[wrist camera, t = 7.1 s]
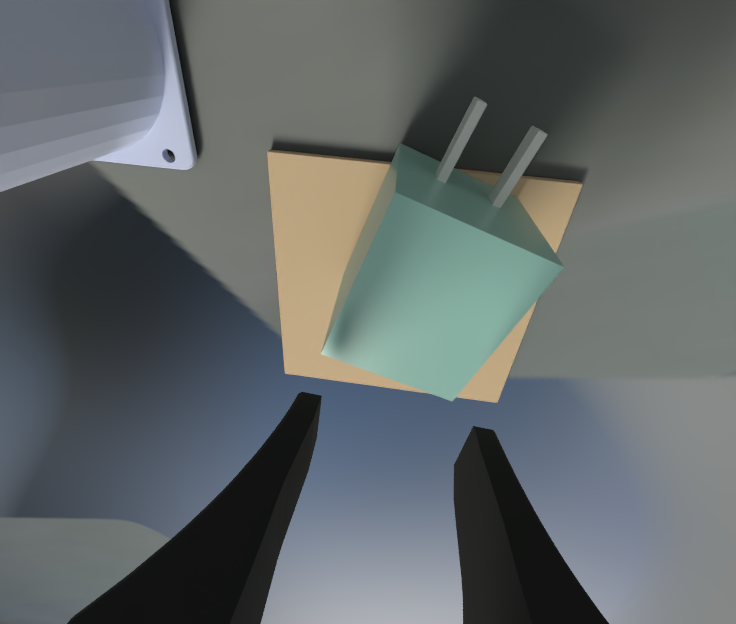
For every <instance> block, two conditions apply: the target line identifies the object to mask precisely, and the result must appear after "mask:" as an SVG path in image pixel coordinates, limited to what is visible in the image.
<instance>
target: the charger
mask: <svg viewBox="0 0 736 624" xmlns="http://www.w3.org/2000/svg"><path fill="white" fill-rule="evenodd" d="M486 106H487V104H486V103H485V102H484V101H483V100H481V99H479V98H477V97H475V96H474V98H473V100H472V101H471V103H470V105H469V107H468V109H467V111H466V113H465V115H464V117H463V119H462V121H461V123H460V125H459V127H458V129H457V131H456V133H455V135H454V137H453V139H452V141H451V143H450V145H449V147H448V149H447V151H446V153H445V155H444V157H443V159H442V161H441V162H440V161H437V160H435V159H433V158H431V157H429V156H427V155H425V154H422V153H420V152H418V151H416V150H414V149H412V148H410V147H407V146H405V145H403V144H401V143H400V144H399V146H398V148H397V151H396V153H395V155H394V158H393V160H392V162H391V165H390V167H389V169H388V172H387V174H386V176H385V179H384V181H383V183H382V185H381V188H380V190H379V192H378V195H377V197H376V199H375V202H374V204H373V206H372V209H371V211H370V213H369V216H368V218H367V220H366V223H365V225H364V227H363V229H362V232H361V234H360V236H359V239H358V241H357V243H356V246H355V248H354V250H353V253H352V255H351V257H350V260H349V262H348V264H347V267H346V269H345V271H344V274H343V277H342V281H341V284H340V288H339V291H338V295H337V299H336V302H335V306H334V309H333V313H332V316H331V320H330V323H329V327H328V330H327V334H326V337H325V341H324V344H323V348H322V351H321V354H322V355H325V356H328V357H331V358H333V359H336V360H339V361H342V362H344V363H347V364H350V365H353V366H356V367H358V368H361V369H364V370H367V371H369V372H372V373H375V374H378V375H381V376H383V377H386V378H389V379H392V380H394V381H397V382H400V383H403V384H406V385H408V386H411V387H414V388H417V389H419V390H422V391H425V392H428V393H430V394H433V395H436V396H439V397H442V398H444V399H447V400H450V401H453V400H454V399H455V398H456V396H457V395H458V394H459V393H460V392H461V390H462V389H463V388H464V387H465V386H466V385H467V383H468V382H469V381H470V380H471V379H472V377H473V376H474V375H475V374H476V373H477V371H478V370H479V369H480V368H481V367H482V365H483V364H484V363H485V362H486V361H487V359H488V358H489V357H490V356H491V355H492V353H493V352H494V351H495V350H496V349H497V348H498V346H499V345H500V344H501V343H502V342H503V340H504V339H505V338H506V337H507V336H508V334H509V333H510V332H511V331H512V330H513V328H514V327H515V326H516V325H517V324H518V322H519V321H520V320H521V319H522V318H523V316H524V315H525V314H526V313H527V312H528V310H529V309H530V308H531V307H532V306H533V305H534V303H535V302H536V301H537V300H538V299H539V297H540V296H541V295H542V294H543V293H544V291H545V290H546V289H547V288H548V287H549V285H550V284H551V283H552V282H553V281H554V279H555V278H556V277H557V276H558V275H559V273H560V272H561V271H562V270H563V269H564V268H565V267H564V266H563V264H562V263H561V261H560V260H559V258H558V257H557V255H556V254H555V252H554V251H553V249H552V248H551V246H550V245H549V243H548V242H547V240H546V239H545V237H544V236H543V235H542V233H541V232H540V230H539V229H538V227H537V226H536V224H535V223H534V221H533V220H532V218H531V217H530V215H529V214H528V212H527V211H526V209H525V208H524V206H523V205H522V203H521V202H520V201H519V199H518V198H517V197H515V196H512V195H510V193H511V191H512V190H513V188H514V186H515V185H516V183H517V182H518V180H519V179H520V177H521V176H522V174H523V173H524V171H525V169H526V168H527V166H528V165H529V163H530V162H531V160H532V159H533V157H534V156H535V154H536V152H537V151H538V149H539V148H540V146H541V145H542V143H543V142H544V140H545V139H546V137H547V135H548V134H546V133H545V132H543V131H542V130H540V129H538V128H536V127H534V126H531V128H530V129H529V131H528V132H527V134H526V136H525V137H524V139H523V141H522V142H521V144H520V145H519V147H518V149H517V150H516V152H515V154H514V155H513V157H512V158H511V160H510V162H509V163H508V165H507V167H506V168H505V170H504V171H503V173H502V175H501V176H500V178H499V180H498V181H497V183H496V184H495V186H494V187H493V186H491V185H489V184H487V183H485V182H482V181H480V180H478V179H476V178H474V177H472V176H470V175H467V174H465V173H463V172H461V171H459V170H457V169H455V168H454V166H455V164H456V162H457V161H458V159H459V157H460V155H461V153H462V151H463V149H464V147H465V146H466V144H467V142H468V140H469V138H470V136H471V134H472V132H473V131H474V129H475V127H476V125H477V123H478V121H479V119H480V117H481V116H482V114H483V112H484V110H485V108H486Z"/></svg>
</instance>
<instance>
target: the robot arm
mask: <svg viewBox="0 0 736 624" xmlns="http://www.w3.org/2000/svg"><path fill="white" fill-rule="evenodd" d="M168 149H169V150H171V151H172V152H173V153H174V155H175V160H173V159H171V158H170V157H169V155H168ZM90 160H97V161H106V162H116V163H125V164H134V165H143V166H153V167H162V168H171V169H181V170H188V169H190V168H192V167H193V166H195V165H196V163H197V153H196V147H195V142H194V136H193V131H192V125H191V120H190V114H189V109H188V103H187V98H186V92H185V87H184V82H183V76H182V71H181V65H180V60H179V54H178V49H177V43H176V38H175V32H174V27H173V21H172V16H171V10H170V5H169V0H0V192H1V191H4V190H7V189H10V188H13V187H15V186H18V185H21V184H24V183H27V182H30V181H33V180H36V179H39V178H41V177H44V176H47V175H50V174H52V173H56V172H59V171H61V170H64V169H67V168H70V167H73V166H76V165H79V164H82V163H85V162H87V161H90ZM321 397H322V396H320V395H315V394H310V393H305V392H301V393H299V394H298V395H297V397H296V399H295V401H294V402H293V404H292V406H291V407H290V409H289V410H288V412H287V413H286V415H285V416H284V418H283V419H282V421H281V422H280V423H279V425H278V426H277V427H276V429H275V430H274V431H273V433H272V434H271V435H270V437H269V438H268V439H267V440H266V442H265V443H264V444H263V445H262V447H261V448H260V449H259V450H258V452H257V453H256V454H255V455H254V456H253V458H252V459H251V460H250V461H249V462H248V463H247V464H246V465H245V467H244V468H243V469H242V470H241V471H240V472H239V474H238V475H237V476H236V477H235V478H234V479H233V480H232V481H231V482H230V483H229V485H228V486H226V488H225V489H224V490H223V491H222V492H221V493H220V494H219V495H218V496H217V497H216V498H215V499H214V500H213V501H212V502H211V503H210V504H209V505H208V506H207V507H206V508H205V509H204V510H203V511H201V512H200V513H199V515H197V516H196V517H195V518H194V519H193V520H192V521H191V522H190V523H189V524H188V525H186V526H185V527H184V528H183V529H182V530H181V531H180V532H179V533H178V534H177V535H175V536H174V537H173V538H172V539H171V540H170V541H169V542H167V543H166V544H165V545H164V546H163V547H161V548H160V549H159V550H158V551H157V552H155V553H154V554H153V555H152V556H151V557H149V558H148V559H147V560H146V561H145V562H143V563H142V564H141V565H140V566H139V567H137V568H136V569H135V570H134V571H132V572H131V573H130V574H129V575H127V576H126V577H125V578H124V579H122V580H121V581H120V582H118V583H117V584H116V585H114V586H113V587H112V588H110V589H109V590H108V591H107V592H105V593H104V594H103V595H101V596H100V597H99V598H97V599H96V600H95V601H93V602H92V603H91V604H89V605H88V606H87V607H85V608H84V609H83V610H81V611H80V612H79V613H77V614H76V615H75V616H74V617H73V618H71V620H70V621H69V622H68V623H67V624H260V623H261V619H262V616H263V612H264V608H265V604H266V601H267V597H268V593H269V589H270V585H271V582H272V578H273V574H274V571H275V567H276V563H277V559H278V556H279V553H280V550H281V547H282V544H283V540H284V538H285V535H286V532H287V529H288V526H289V524H290V521H291V518H292V515H293V512H294V510H295V507H296V504H297V501H298V498H299V495H300V493H301V490H302V487H303V484H304V481H305V479H306V476H307V473H308V470H309V466H310V462H311V458H312V455H313V450H314V446H315V442H316V438H317V431H318V423H319V414H320V405H321ZM454 507H455V517H456V528H457V537H458V546H459V557H460V567H461V577H462V590H463V624H609V623H608V622H607V620H606V619H605V618H604V617H603V615H602V614H601V613H600V611H599V610H598V609H597V607H596V606H595V604H594V603H593V601H592V600H591V599H590V597H589V596H588V594H587V593H586V592H585V590H584V589H583V587H582V586H581V585H580V583H579V582H578V580H577V579H576V577H575V576H574V574H573V573H572V571H571V570H570V568H569V567H568V565H567V564H566V562H565V561H564V559H563V557H562V556H561V554H560V553H559V551H558V550H557V548H556V547H555V545H554V543H553V541H552V540H551V538H550V536H549V535H548V533H547V532H546V530H545V528H544V526H543V525H542V523H541V521H540V519H539V518H538V516H537V514H536V512H535V511H534V509H533V507H532V505H531V503H530V502H529V500H528V498H527V496H526V494H525V492H524V490H523V489H522V487H521V485H520V483H519V481H518V479H517V477H516V475H515V473H514V471H513V469H512V467H511V465H510V463H509V461H508V459H507V457H506V455H505V453H504V450H503V449H502V446H501V444H500V442H499V440H498V438H497V436H496V433H495V432H494V431H493V430H490V429H485V428H480V427H475V426H473V428H472V430H471V432H470V434H469V436H468V438H467V440H466V442H465V444H464V446H463V448H462V450H461V452H460V454H459V457H458V458H457V460H456V462H455V464H454Z"/></svg>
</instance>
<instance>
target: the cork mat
mask: <svg viewBox="0 0 736 624" xmlns="http://www.w3.org/2000/svg"><path fill="white" fill-rule="evenodd" d="M267 156H268V168H269V181H270V193H271V206H272V218H273V231H274V243H275V256H276V268H277V280H278V293H279V305H280V318H281V330H282V343H283V355H284V368H285V373H286V374H293V375H300V376H307V377H314V378H322V379H329V380H336V381H344V382H351V383H358V384H366V385H372V386H380V387H387V388H394V389H401V390H409V391H416V392H423V393H428V392H425V391H422V390H419V389H417V388H414V387H411V386H408V385H406V384H403V383H400V382H397V381H394V380H392V379H389V378H386V377H383V376H381V375H378V374H375V373H372V372H369V371H367V370H364V369H361V368H358V367H356V366H353V365H350V364H347V363H344V362H342V361H339V360H336V359H333V358H331V357H328V356H325V355H322V354H321V351H322V348H323V344H324V341H325V337H326V334H327V330H328V327H329V323H330V320H331V316H332V313H333V309H334V306H335V302H336V299H337V295H338V291H339V288H340V284H341V281H342V277H343V274H344V271H345V269H346V267H347V264H348V262H349V260H350V257H351V255H352V253H353V250H354V248H355V246H356V243H357V241H358V239H359V236H360V234H361V232H362V229H363V227H364V225H365V223H366V220H367V218H368V216H369V213H370V211H371V209H372V206H373V204H374V202H375V199H376V197H377V195H378V192H379V190H380V188H381V185H382V183H383V181H384V179H385V176H386V174H387V172H388V169H389V167H390V165H391V162H387V161H377V160H368V159H358V158H348V157H339V156H329V155H319V154H310V153H300V152H290V151H281V150H269V151H268V152H267ZM457 170H459V171H461V172H463V173H465V174H467V175H470V176H472V177H474V178H476V179H478V180H480V181H482V182H485V183H487V184H489V185H491V186H493V187H494V186H495V184H496V183H497V181H498V180H499V178H500V176H501V175H502V173H494V172H484V171H474V170H464V169H457ZM582 186H583V184H582V183H581V182H580V181H571V180H561V179H552V178H542V177H532V176H523V175H522V176H521V177H520V179H519V180H518V182H517V183H516V185H515V186H514V188H513V190H512V191H511V193H510V195H512V196H515V197H517V198H518V199H519V201H520V202H521V203H522V205H523V206H524V208H525V209H526V211H527V212H528V214H529V215H530V217H531V218H532V220H533V221H534V223H535V224H536V226H537V227H538V229H539V230H540V232H541V233H542V235H543V236H544V237H545V239H546V240H547V242H548V243H549V245H550V246H551V248H552V249H553V251H554V252H555V254H556V252H557V249H558V247H559V244H560V242H561V239H562V237H563V234H564V231H565V229H566V226H567V224H568V221H569V219H570V216H571V214H572V211H573V209H574V206H575V203H576V201H577V198H578V196H579V193H580V191H581V188H582ZM536 303H537V301H536V302H535V303H534V305H533V306H532V307H531V308H530V309H529V310H528V312H527V313H526V314H525V315H524V316H523V318H522V319H521V320H520V321H519V322H518V324H517V325H516V326H515V327H514V328H513V330H512V331H511V332H510V333H509V334H508V336H507V337H506V338H505V339H504V340H503V342H502V343H501V344H500V345H499V346H498V348H497V349H496V350H495V351H494V352H493V353H492V355H491V356H490V357H489V358H488V359H487V361H486V362H485V363H484V364H483V365H482V367H481V368H480V369H479V370H478V371H477V373H476V374H475V375H474V376H473V377H472V379H471V380H470V381H469V382H468V383H467V385H466V386H465V387H464V388H463V389H462V390H461V392H460V393H459V394H458V395H457V396H456V397H459V398H466V399H473V400H481V401H488V402H496V403H497V402H498V399H499V397H500V394H501V392H502V389H503V387H504V384H505V381H506V379H507V376H508V374H509V371H510V369H511V366H512V364H513V361H514V359H515V356H516V354H517V351H518V348H519V346H520V343H521V341H522V338H523V336H524V333H525V331H526V328H527V326H528V323H529V320H530V318H531V315H532V313H533V310H534V308H535V305H536Z"/></svg>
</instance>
